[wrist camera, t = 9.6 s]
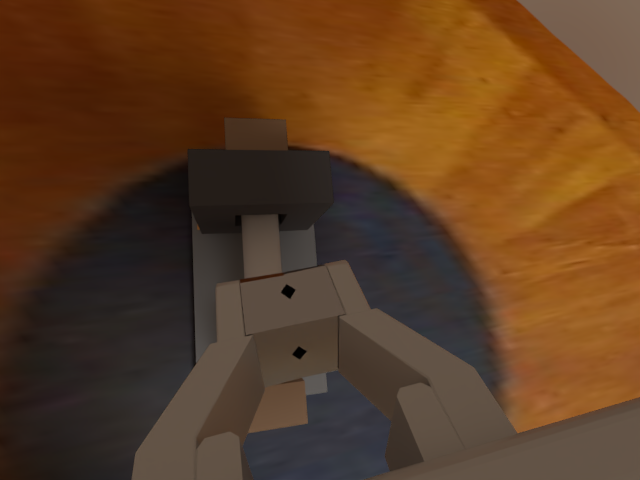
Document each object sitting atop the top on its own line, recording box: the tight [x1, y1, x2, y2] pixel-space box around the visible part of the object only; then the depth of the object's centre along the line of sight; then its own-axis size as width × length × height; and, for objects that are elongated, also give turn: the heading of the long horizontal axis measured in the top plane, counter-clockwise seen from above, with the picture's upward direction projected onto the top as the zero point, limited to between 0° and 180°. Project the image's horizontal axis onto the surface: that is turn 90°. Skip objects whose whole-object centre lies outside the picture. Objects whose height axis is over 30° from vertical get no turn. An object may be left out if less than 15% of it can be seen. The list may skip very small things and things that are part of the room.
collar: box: [188, 149, 334, 234], centre depth 31 cm, size 4×10×10 cm, turn 95°
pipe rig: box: [192, 118, 327, 433], centre depth 33 cm, size 24×12×10 cm, turn 5°
